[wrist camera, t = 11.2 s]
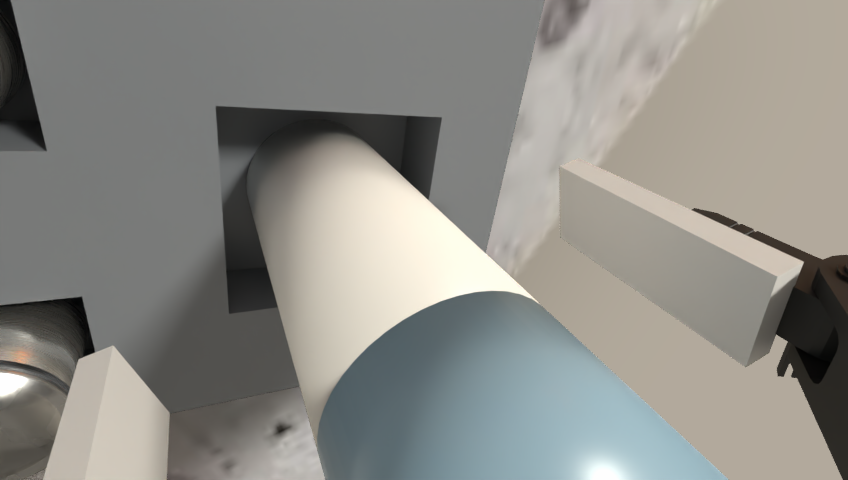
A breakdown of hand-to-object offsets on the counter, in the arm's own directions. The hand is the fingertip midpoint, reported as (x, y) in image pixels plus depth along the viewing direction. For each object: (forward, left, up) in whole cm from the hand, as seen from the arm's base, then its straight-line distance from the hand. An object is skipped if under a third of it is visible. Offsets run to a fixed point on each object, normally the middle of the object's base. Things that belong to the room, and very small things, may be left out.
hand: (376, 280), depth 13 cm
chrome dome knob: (-10, -4, -6) cm, 13 cm away
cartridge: (0, 0, -7) cm, 7 cm away
